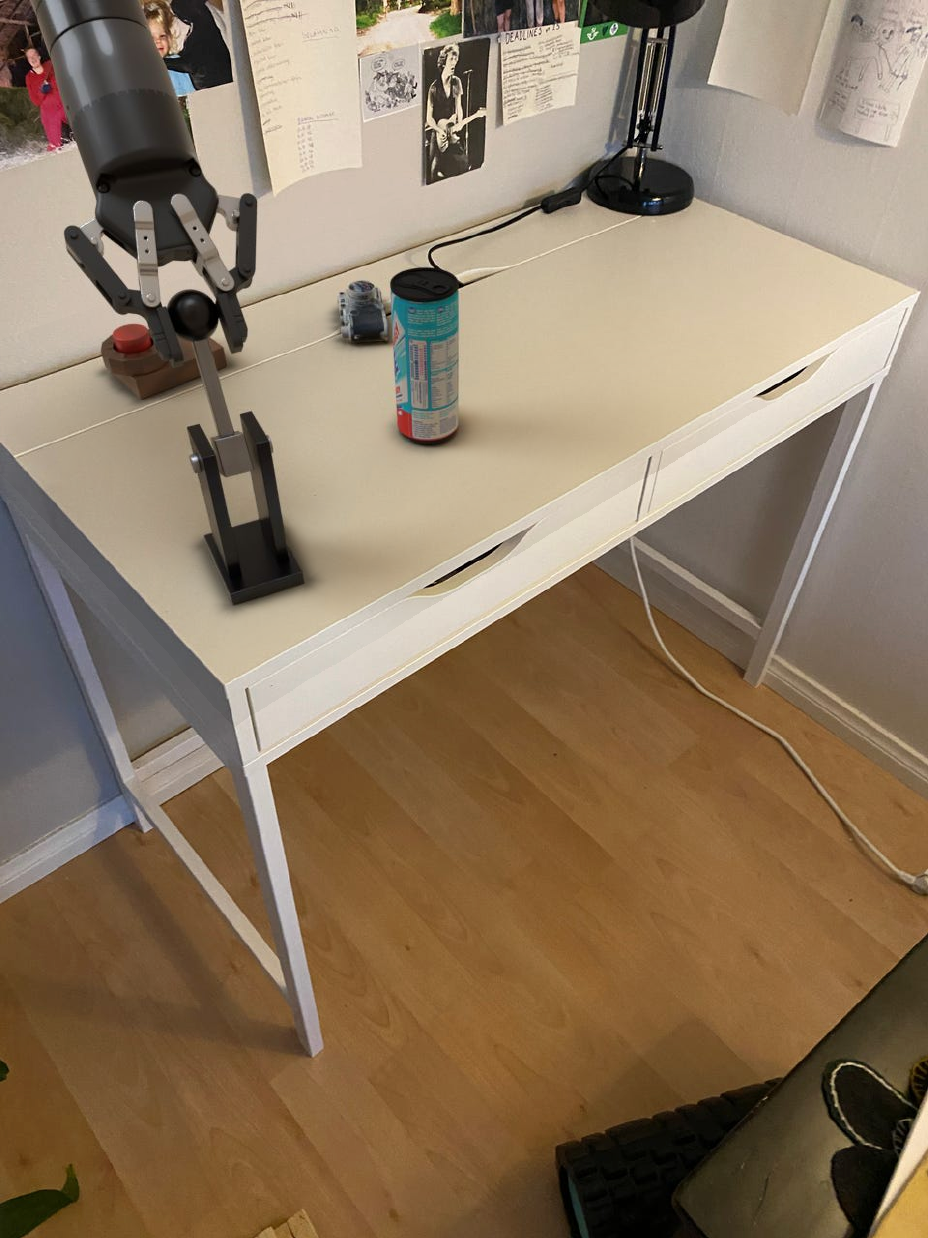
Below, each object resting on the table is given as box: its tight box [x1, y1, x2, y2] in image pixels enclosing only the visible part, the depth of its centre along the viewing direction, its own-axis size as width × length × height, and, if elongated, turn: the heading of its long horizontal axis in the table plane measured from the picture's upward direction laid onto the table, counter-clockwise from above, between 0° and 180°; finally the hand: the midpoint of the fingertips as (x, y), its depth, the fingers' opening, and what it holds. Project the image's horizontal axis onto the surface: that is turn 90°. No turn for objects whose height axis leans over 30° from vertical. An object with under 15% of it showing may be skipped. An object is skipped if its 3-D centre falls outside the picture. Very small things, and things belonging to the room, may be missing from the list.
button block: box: [100, 328, 228, 400], centre depth 99 cm, size 11×7×4 cm, turn 131°
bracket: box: [186, 410, 305, 605], centre depth 74 cm, size 8×6×13 cm
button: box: [112, 323, 151, 354], centre depth 96 cm, size 3×3×2 cm
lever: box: [166, 288, 254, 478], centre depth 69 cm, size 13×4×4 cm
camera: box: [337, 279, 390, 344], centre depth 106 cm, size 5×10×4 cm, turn 8°
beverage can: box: [389, 266, 460, 445], centre depth 87 cm, size 6×6×15 cm
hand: (208, 355), depth 67 cm, fingers closed on lever, 3 cm apart
